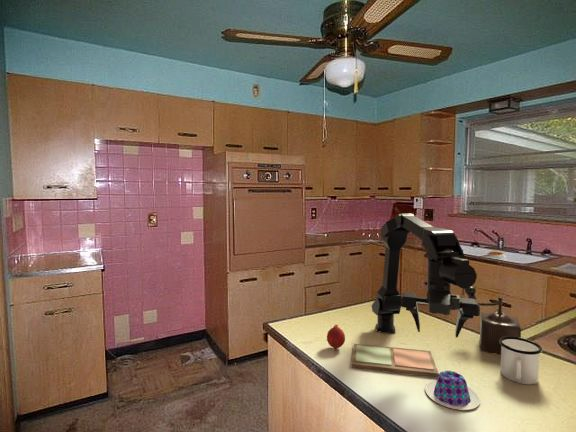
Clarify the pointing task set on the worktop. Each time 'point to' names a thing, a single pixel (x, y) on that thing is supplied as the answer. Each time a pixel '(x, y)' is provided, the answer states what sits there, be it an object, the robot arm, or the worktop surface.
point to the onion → (335, 337)
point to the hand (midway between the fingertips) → (437, 334)
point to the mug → (520, 359)
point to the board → (394, 360)
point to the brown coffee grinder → (494, 325)
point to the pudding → (452, 391)
